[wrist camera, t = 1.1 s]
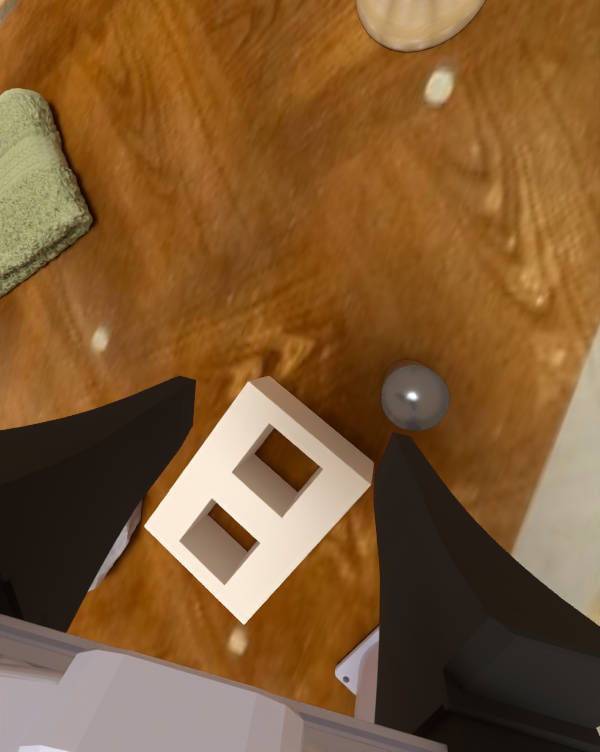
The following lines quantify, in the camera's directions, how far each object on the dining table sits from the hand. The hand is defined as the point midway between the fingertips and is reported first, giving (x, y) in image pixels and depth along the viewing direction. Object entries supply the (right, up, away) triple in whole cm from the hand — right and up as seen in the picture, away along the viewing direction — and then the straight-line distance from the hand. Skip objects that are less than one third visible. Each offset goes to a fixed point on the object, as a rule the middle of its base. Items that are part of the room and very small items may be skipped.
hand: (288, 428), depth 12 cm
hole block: (-2, -7, +15) cm, 16 cm away
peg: (+8, +2, +11) cm, 14 cm away
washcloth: (-26, +17, +19) cm, 37 cm away
